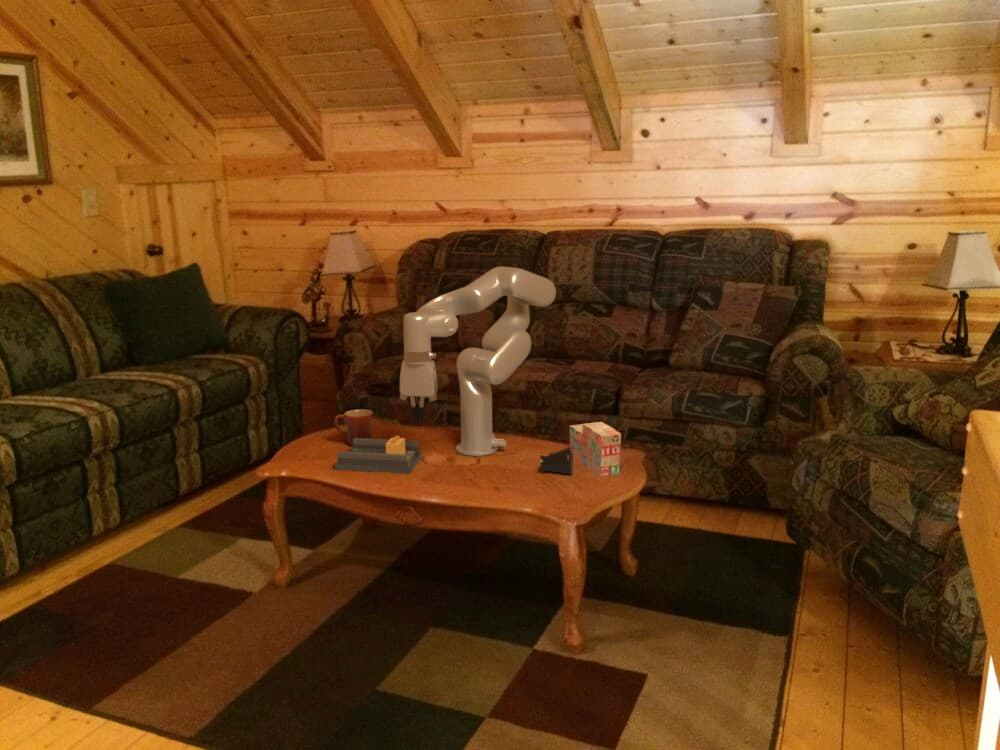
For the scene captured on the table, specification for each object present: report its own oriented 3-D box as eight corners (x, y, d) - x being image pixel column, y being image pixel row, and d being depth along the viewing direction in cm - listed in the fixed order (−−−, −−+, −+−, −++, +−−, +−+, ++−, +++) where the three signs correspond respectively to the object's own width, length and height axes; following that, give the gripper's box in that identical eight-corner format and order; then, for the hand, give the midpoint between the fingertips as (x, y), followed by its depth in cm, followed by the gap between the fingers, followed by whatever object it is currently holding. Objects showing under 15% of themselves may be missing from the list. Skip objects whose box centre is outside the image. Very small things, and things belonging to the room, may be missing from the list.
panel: (422, 458, 253) (422, 448, 252) (409, 473, 239) (409, 463, 239) (351, 454, 256) (351, 445, 256) (335, 469, 243) (334, 459, 242)
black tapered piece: (572, 477, 235) (541, 479, 236) (578, 464, 252) (550, 467, 254) (568, 450, 234) (538, 453, 236) (575, 439, 252) (546, 442, 254)
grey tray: (419, 451, 253) (419, 440, 252) (405, 467, 239) (405, 456, 238) (355, 448, 256) (354, 437, 255) (337, 463, 242) (337, 453, 241)
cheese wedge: (405, 454, 249) (404, 435, 248) (399, 461, 243) (399, 441, 242) (392, 453, 250) (391, 435, 248) (386, 460, 244) (385, 441, 243)
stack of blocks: (568, 455, 255) (569, 415, 252) (587, 452, 257) (588, 413, 254) (600, 477, 235) (601, 435, 233) (620, 475, 237) (621, 432, 235)
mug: (376, 440, 270) (375, 409, 268) (371, 448, 262) (370, 416, 260) (339, 440, 271) (337, 409, 269) (332, 448, 262) (331, 416, 260)
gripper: (446, 355, 241) (447, 417, 245) (395, 353, 243) (397, 415, 247) (440, 360, 234) (441, 424, 237) (387, 358, 236) (389, 422, 240)
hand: (418, 419), depth 242 cm, fingers closed
